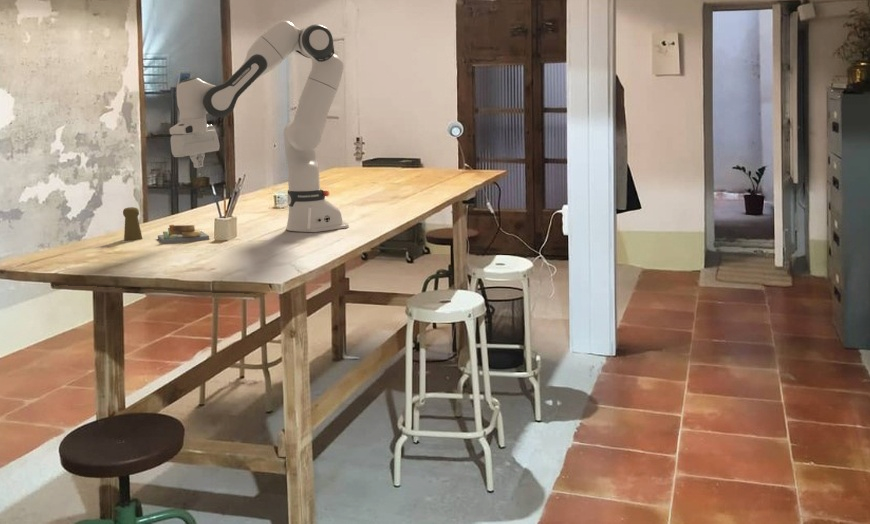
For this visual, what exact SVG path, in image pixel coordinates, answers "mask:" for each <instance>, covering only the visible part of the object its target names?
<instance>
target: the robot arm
mask: <svg viewBox="0 0 870 524" xmlns="http://www.w3.org/2000/svg"><path fill="white" fill-rule="evenodd" d="M294 52H296V53H298V54H300V55H301V56H303V57H305V58H308V59H311V63H312V64H311V68H310V69H311V70H310V73H309V74H308V76H307V79H306V82H305V84H304V86H303V89H302V90H301V91H302V92H301V94H300V96H299V100H298V105H297V108H296V111H295V116H294V118H293V119H292V120H290V121H289V122H288V123H286V125H285V127H284V129H283V131H282V133H283V134H282V136H283V144H284V153H285V161H286V164H287V181H288V182H287V183H288V190H287V196H286V197H287V206H288V214H287V222H286V226H285V227H286V228H285V230H287V231H290V232H302V233H304V232H305V233H307V232H308V233H319V232H326V231H333V230H339V229H347V228H349V227H350V225H349V223H348V222H346V221H343V216H342V212H341V211H340V209H339V208H338V207H336V206H335V205H334V204H332V203H331V202H330V201H329V200H327V199H325V198H326V197H329V196H330V192H329V190H324V189H321V186H320V184H321V183H320V167H319V163H318V158H317V150H316V149H317V148H318V147H319V145H320V143H321V141H322V140H321V139H322V136H323V133H324V129H325V126H326V123H327V119H328V114H329V112H330V109H331V107H332V105H333V101H334V99H335V97H336V94H337V91H338V89H339V86H340V83H341V80H342V76H343V72H344V67H345V66H344V62H343V60H342V59H341V58H340V57H339V56H338V55H336V54H335V45H334V37H333V34H332V33H331V30H329V28H328V27H326V26H324V25H322V24H318V23H316V24H310V25H308V26H305V27H303V28H298V27H297V26H296V25H294V24H293V22H290V21H289V20H280V21H278V22H277V23H274V24H273V25H271V26H270V27H269V28H268V29H267V30H266V31H265V30H264V32H263V33H261V34H260V36H259V37H258V38H256V40H255V41H254V42H253V43H252V45H251V46H250V48H248V50H247V53H246V57H245V59H244V61H243V63H242V65H241V66H240V67H239V68H238V69H237V70H236V71H235V72H234V73H233V74H232V75H231V76H230V77H229V78H228V79H227V80H226V81H225V82H223V83H221V84H219V85H214V84H212V83H209V82H206V81H203V80H202V79H201V78H199V77H191V78H187V79H184V80H181V81H179V83H177V85H176V104H177V108H178V110H179V116H178V117H179V122H177V123H176V124H175V125H172V127H170V128H169V130H168V131H169V134H170V135H171V136H170V149H171V150H170V151H171V154H172V156H173V157H174V158H183V157H189V159H190V160H191V163H193V168H196V169H198V168H202V167H204V160H205V156H206V155H205V154H206V153H207V154H208V153H212V152H218V151H220V146H221V145H220V141H219V136H218V133H217V130H216V127H215V126H214V125H212V124H208V122H207V115H208V114H209V115H210V116H212V117H215V118H225V117H227V116H229V115H230V114H231V113H232V112H233V111H234V108H235V107H236V103H237V100H238V98H239V97H240V96H241V95H242V94H243V93H244V92H245V91H246V90H247V89H248V88H249V87H250V86H251V85H252V84H253V83H254V82H255V81H256V80H257V79H259V78H260V77H262V76H264V75H266V74H267V73H269V72H270V71H272V70H274V69H275V68H276V67H278V65H280V64H281V63H282V62H284V60H285V59H286V58H287V57H288V56H289V55H290V54H292V53H294Z"/></svg>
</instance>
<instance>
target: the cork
mask: <svg viewBox="0 0 870 524" xmlns="http://www.w3.org/2000/svg"><path fill="white" fill-rule="evenodd" d="M122 215H123V216H124V234H123V235H124V236H123V240H124V241H126V242H127V241H128V242H129V241H130V242H131V241H132V242H133V241H141V240H143V235H142V230H141V226H140V221H139V218H138V217H139V215H140V212H139V209H138V208H137V207H133V206H130V207H125V208H124V209H123V211H122Z"/></svg>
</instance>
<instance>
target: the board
mask: <svg viewBox="0 0 870 524" xmlns="http://www.w3.org/2000/svg"><path fill="white" fill-rule="evenodd" d="M200 234H201V235H200V236H197V237H182V235H170V228H169V227H168V228H167V230H165V231H162V234H159V235H157V240H159V241H160V242H162V243H163V244H164V245H167V244H175V243H176V244H177V243H186V242H196V241H204V240H205V241H206V240H210V235H209V234H207V233H205V232H204V231H202V230H200Z"/></svg>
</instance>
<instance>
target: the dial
mask: <svg viewBox="0 0 870 524" xmlns="http://www.w3.org/2000/svg"><path fill="white" fill-rule="evenodd" d="M168 228H170V235H182V237H197V236H200V235H201V234H200V231H201V230H199V229H196V227H195V225H194V224H189V225H188V224H186V225H185V224H183V225H181V224H176V225H175V224H170V225H169V227H168Z"/></svg>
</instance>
